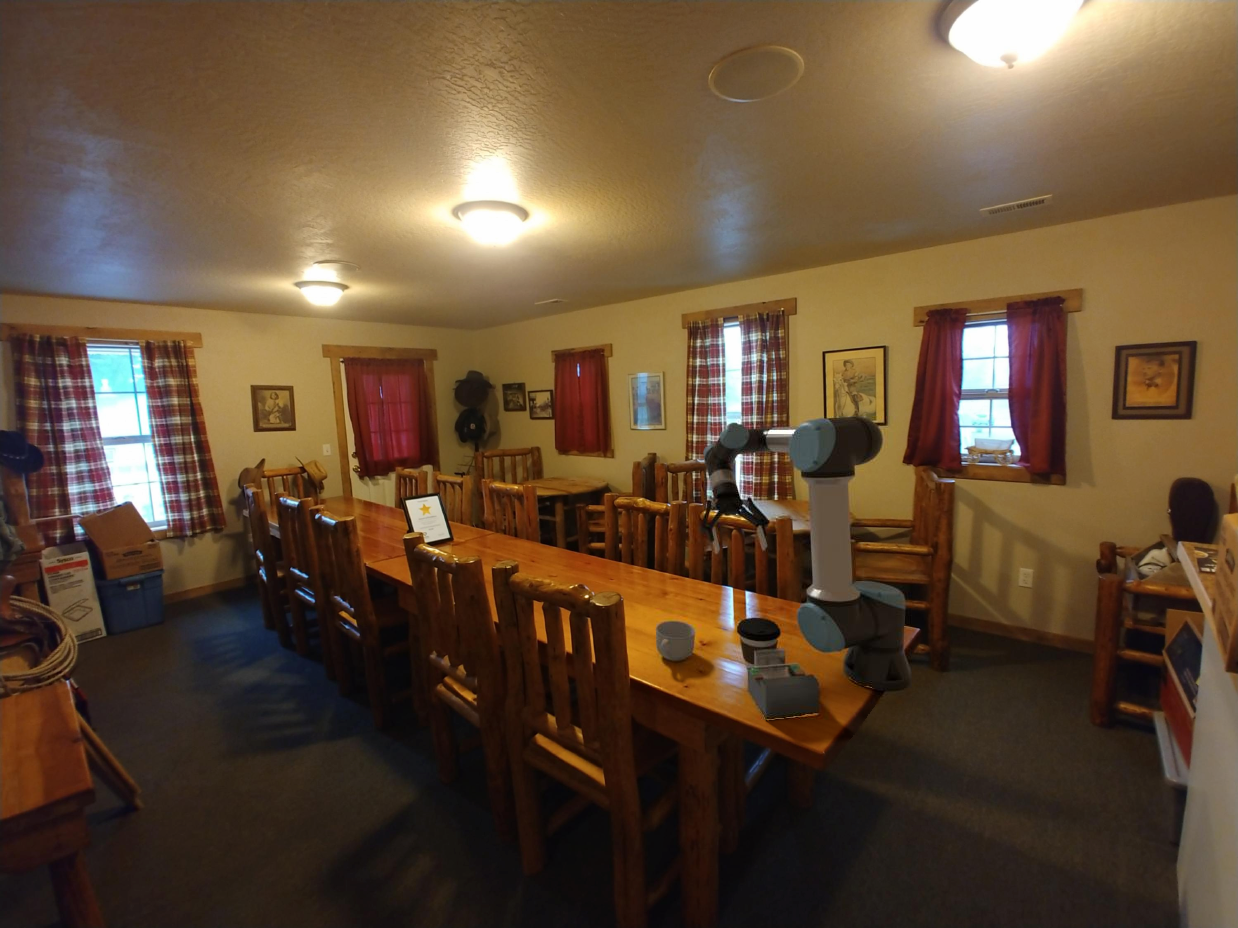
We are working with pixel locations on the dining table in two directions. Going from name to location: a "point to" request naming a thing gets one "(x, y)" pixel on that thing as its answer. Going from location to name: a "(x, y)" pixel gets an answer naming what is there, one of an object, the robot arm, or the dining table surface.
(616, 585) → the dining table surface
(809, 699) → the grey box
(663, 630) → the teacup
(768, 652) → the grey bracket with plate
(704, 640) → the dining table surface
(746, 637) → the coffee cup
